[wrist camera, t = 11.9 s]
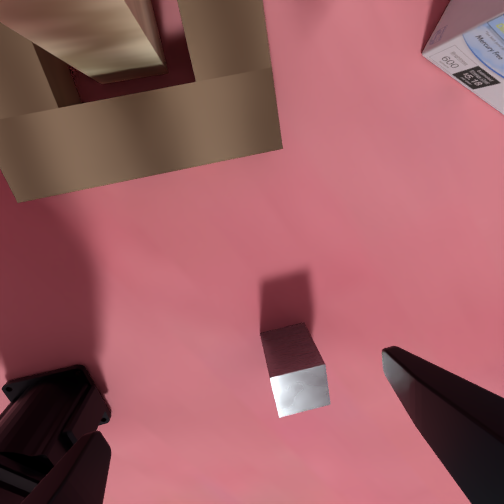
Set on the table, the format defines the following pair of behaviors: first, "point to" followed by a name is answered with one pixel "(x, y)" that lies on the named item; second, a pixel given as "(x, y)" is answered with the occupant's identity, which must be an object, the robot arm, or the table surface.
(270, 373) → the metal stub
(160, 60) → the maple pin
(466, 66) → the light bulb box
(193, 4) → the walnut sleeve block
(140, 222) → the table surface
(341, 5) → the table surface
